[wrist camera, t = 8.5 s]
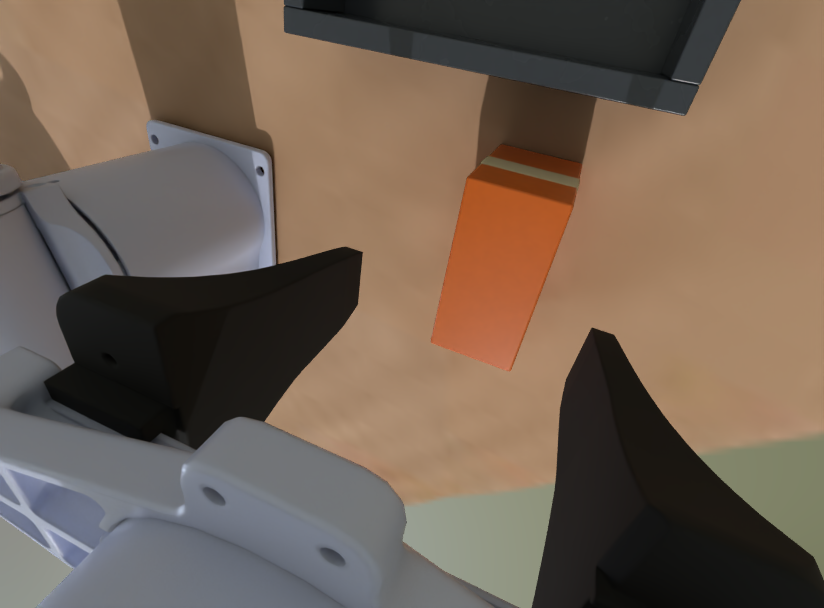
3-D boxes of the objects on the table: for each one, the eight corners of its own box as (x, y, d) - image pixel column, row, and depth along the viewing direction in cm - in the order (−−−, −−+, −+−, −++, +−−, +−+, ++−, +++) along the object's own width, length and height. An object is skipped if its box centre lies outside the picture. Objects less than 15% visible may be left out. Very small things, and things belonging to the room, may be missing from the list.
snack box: (530, 305, 21) (510, 373, 17) (464, 284, 22) (429, 343, 18) (583, 163, 17) (575, 204, 13) (500, 142, 18) (466, 175, 14)
